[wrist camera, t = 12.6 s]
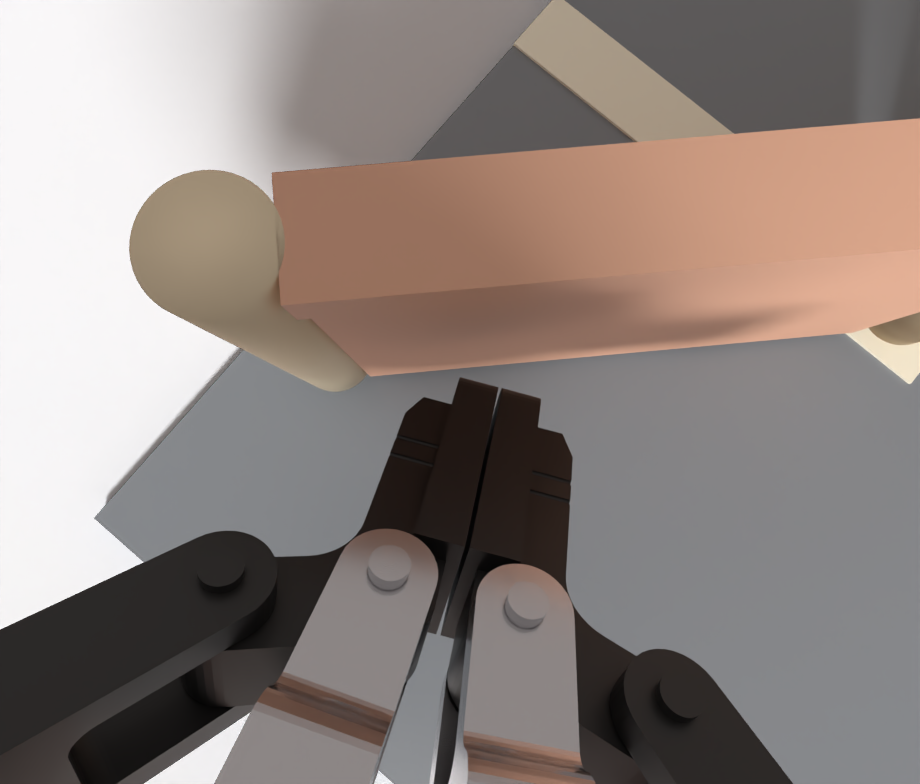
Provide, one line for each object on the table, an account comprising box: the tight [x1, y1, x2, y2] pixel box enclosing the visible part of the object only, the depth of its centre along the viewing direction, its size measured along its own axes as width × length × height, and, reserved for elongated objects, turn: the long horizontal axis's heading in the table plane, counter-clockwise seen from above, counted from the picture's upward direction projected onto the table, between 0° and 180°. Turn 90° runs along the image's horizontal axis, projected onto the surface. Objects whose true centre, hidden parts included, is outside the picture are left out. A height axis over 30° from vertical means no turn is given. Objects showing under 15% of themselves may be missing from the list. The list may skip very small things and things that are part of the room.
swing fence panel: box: [129, 118, 920, 392], centre depth 12 cm, size 2×14×8 cm, turn 95°
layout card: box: [95, 0, 920, 784], centre depth 17 cm, size 21×28×1 cm
